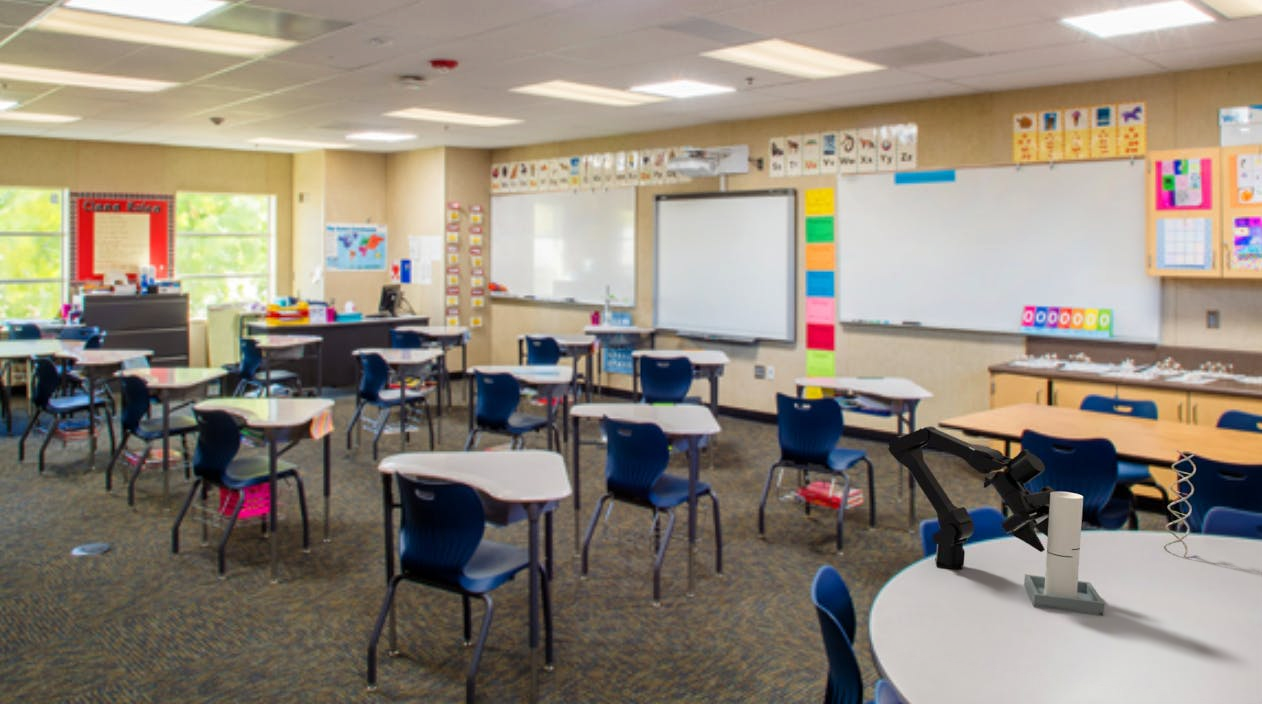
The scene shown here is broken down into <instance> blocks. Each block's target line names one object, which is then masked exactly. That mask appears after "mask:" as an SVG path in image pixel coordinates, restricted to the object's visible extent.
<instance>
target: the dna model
mask: <svg viewBox="0 0 1262 704" xmlns="http://www.w3.org/2000/svg"><path fill="white" fill-rule="evenodd" d="M1176 452H1177V453H1179V454H1180V455H1181V456H1182V457H1184V458H1183V459H1180V460H1178V461H1176V462H1174V463H1173V464H1171V469H1172V471H1174V472H1175V473H1176V474H1177V476H1180V477H1181V479H1179V480H1177V481H1175V482H1173V483H1171V484H1170V485H1169V490H1170V491H1171V492H1173V493H1174V494H1175V496H1177V497H1179V498H1180V499H1178V500H1174V501H1173V502H1171V503H1169V504H1168V505H1167V509H1168V511H1169V512H1171V513H1172V514H1173V515H1174V516H1176V517H1177V518H1178V519H1176V520H1172V522H1168V523H1167V524H1166V525H1165V529H1166V530H1167V531H1168V532H1169V533H1170V534H1171V535H1172V536H1174V537H1175V538H1176V540H1172V541H1170V542H1168V543H1164V545H1163V549H1164V550H1165V551H1166V550H1167V551H1168V548H1167V547H1168V546H1170V545H1172V544H1176V543H1180V542H1181V543H1182V545H1183V547H1184V550H1185V551H1184V554H1183V555H1182V556H1183V557H1186V555H1188V546H1187V543H1186V542H1184V541H1183V540H1184V539H1185V538H1187V537H1188V535H1189V534H1190V532H1191V531H1190V526H1189V524H1188V522H1187V521H1185V520H1186V519H1187V518H1188V517H1190V516H1191V514H1192V512H1193V511H1192V510H1193V509H1192V507H1193V506H1192V505H1191V503H1189V502H1188V500H1187V499H1189V498H1190V497H1192V495H1193V494H1194V492H1195V488H1194V485H1193V484H1192V483H1191V481H1190V480H1189V479H1190V478H1191V477H1193V476H1194V475H1195V474H1196V471H1197V467H1196V464H1194V461H1192V460H1191V458H1193V457H1194V456H1195V454H1194V453H1193V454H1191V455H1189V456H1187V455H1185V454H1184V453H1182V452H1181V451H1179V450H1178V449H1176ZM1185 461H1186V462H1187V461H1188V462H1190V464H1191V466H1192V467H1193V471H1192V472H1191V473H1189V472H1185V471H1181V470H1178V469H1176V468H1175V466H1176V465H1178V464H1180V463H1182V462H1185ZM1182 474H1186V476H1184V475H1182ZM1182 482H1187V483H1188V484H1189V485H1190V487H1191V492H1190V493H1189V494H1188V493H1185V492H1182V495H1185V496H1184V497H1183V496H1182V495H1180V494H1181V492H1180V491H1177V490H1175V489H1173V486H1174V485H1176V484H1178V483H1179V484H1180V483H1182ZM1180 502H1184V503H1186V504H1187V505H1188V507H1189V512H1188V513H1187V514H1186V513H1185V514H1184V513H1180V512H1178V511H1176V510H1173V509H1171V506H1173V505H1176V504H1178V503H1180ZM1180 515H1183V517H1182V516H1180ZM1179 522H1182V523H1184V525H1185V526H1186V528H1187V529H1186V533H1185V535H1183V534H1181V533H1177V532H1175V531H1173V530H1170V528H1169V526H1171V525H1174V524H1176V523H1179ZM1178 535H1179V536H1181V537H1179V536H1178Z"/></svg>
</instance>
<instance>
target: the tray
mask: <svg viewBox="0 0 1262 704" xmlns="http://www.w3.org/2000/svg"><path fill="white" fill-rule="evenodd" d="M1023 586H1024V589H1025V591H1026V593H1027V596H1028V595H1029V596H1028V598H1029V600H1030V602H1031V604H1032V606H1033V608H1041V609H1049V610H1054V611H1064V612H1070V613H1076V614H1077V613H1080V614H1086V615H1087V614H1088V615H1093V616H1100V617H1101V616H1102V617H1104V615H1105V614H1104V613H1105V602H1104V601H1103V599H1102V598H1101V596H1100V595H1099V593H1098V592H1097V590H1096V589H1095V588H1094V586H1093V584H1092V583H1091V582H1089V581H1082V580H1078V586H1077V599H1076V598H1068V597H1061V596H1053V595H1045V594H1044V588H1045V576H1042V575H1035V574H1034V575H1033V574H1028V573H1027V574H1026V573H1025V574H1024V581H1023Z"/></svg>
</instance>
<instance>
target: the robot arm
mask: <svg viewBox="0 0 1262 704" xmlns="http://www.w3.org/2000/svg"><path fill="white" fill-rule="evenodd" d="M928 444H929V445H931V446H933V447H936V448H937V449H940V450H942V451H944V452H946V453H949V454H951V455H953V456H955V457H957V458H960V459H961V460H963V461H965V462H966V463H967V464H968V466H969V467H971V468H972V469H974V470H975V471H976V472H978V473H980V474H984V475H985V474H987V475H988V474H991V473H994V475H992V476H990V475H988V476H985V477H984V482H983V486H982V487H983V488H985V489H987V488H991V487H993V488H994V490H995V491H996V493H997V494H998V495H999V496H1000V499H1001V500H1002V501H1003V503H1001V505H1002V507H1003V508H1008V510H1009V511H1010V512H1011V513H1012V515H1010V516H1009V517H1007V518H1006V519H1004V520H1003V521H1002V522H1001V528H1002V530H1003V531H1004V533H1005V534H1010V536H1013V537H1015V538H1017V539H1019V540H1021V541H1022V542H1024V543H1025V544H1027V545H1029V546H1031V547H1032V548H1034V549H1035V550H1037V551H1038V552H1040V553H1042V552H1044V551H1045V550H1046V549H1045V547H1044V545H1043V544H1042V541H1041V539H1040V538H1039V536H1038V535H1037V533H1036V531H1035V530H1034V527H1035V528H1036V529H1037V530H1038V531H1040V532H1041V533H1042V534H1043V535H1044V536H1045V537H1047V538H1048V523H1049V506H1050V493H1051V492H1056V491H1055V488H1054V489H1053V488H1052V487H1051V486H1050V485H1048V486H1044V487H1041V488H1040V492H1035V493H1032V491H1031V490H1029V489H1024V487H1023V486H1022V485H1021V483H1022V484H1025V485H1026V484H1028V483H1029V482H1031V481H1032V480H1033V479H1035V478H1036V477H1038V476H1040V474H1042V473H1043V472H1045V470H1046V467H1045V465H1044V464H1045V463H1043V461H1042V460H1041V458H1039V457H1037V456H1036V455H1035V454H1033V453H1031V452H1030V451H1029V449H1023V450H1021V451H1020V452H1019V453H1018V454H1016V456H1014V457H1013V458H1012V457H1008V456H1006V455H1004V454H1003V453H1002V451H1000V450H998V449H995V448H990V447H987V446H979V445H974V444H972V443H969V442H967V441H965V440H962V439H959V438H957V437H956V436H953V435H951V434H948V433H946V432H944V431H941V430H939V429H937V428H936V427H934V426H932V425H930V426H925V427H921V428H919V429H917V430H915V431H913V432H910V433H907V434H904V435H899V436H898V435H897V436H894V437H892V438H891V439H890V440H889V442H888V451H889V453H890V455H892V457H893V458H894V459H895V460H896V461H897V463H900V464H901V465H902V466H904V467H905V468H906V469H907V470H908V471H909V472H910V474H911V475H912V477H913V478H914V480H915V482H916V483H917V485H918V487H919V488H920V489H921V491H922V493H924V495H925V497H926V498H927V500H928V501H929V503H930V504H931V506H932V508H933V510H934V511H935V513H936V515H937V524H938V526H939V528H940V529H939V530H938V531H936V532H935V533H934V534H932V541H933V543H934V544H936V553H935V554H936V556H935V558H934V560H935V561H934V562H935V566H936V567H937V568H938V567H939V568H944V569H953V570H960V571H961V570H963V566H965V565H964V563H965V552H966V551H965V548H964V545H963V544H964V543H967V541H968V539H969V538H970V537H971V536H973V534H974V531H975V524H974V518H972V517H971V515H969V512H968V510H967V508H966V507H965V506H962V507H957V506H956V505H954V504H953V502H952V500H951V499H950V498H949V496H948V495H947V493H946V492H945V490H944V489H943V487H942V485H941V484H940V483H939V482H938V480H937V478H936V477H935V475H934V474H933V472H932V471H931V469H930V468H929V466H928V465H927V463H926V461H925V460H924V453H923V449H922V447H924V446H926V445H928ZM1004 469H1006V470H1005V471H1001V470H1004Z"/></svg>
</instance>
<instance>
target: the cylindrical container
mask: <svg viewBox="0 0 1262 704" xmlns="http://www.w3.org/2000/svg"><path fill="white" fill-rule="evenodd" d="M1083 507H1084V496H1083V495H1081V494H1079V493H1074V492H1069V491H1055V492H1051V493H1050V506H1049V523H1048V537H1047V542H1046V557H1045V558H1046V559H1045V560H1046V561H1045V575H1044V577H1045V588H1044V594H1045V595H1053V596H1061V597H1068V598H1076V599H1077V586H1078V581H1079V569H1080V568H1079V567H1080V554H1081V552H1080V551H1081V537H1082V536H1081V535H1082V522H1083V521H1082V520H1083Z"/></svg>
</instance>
